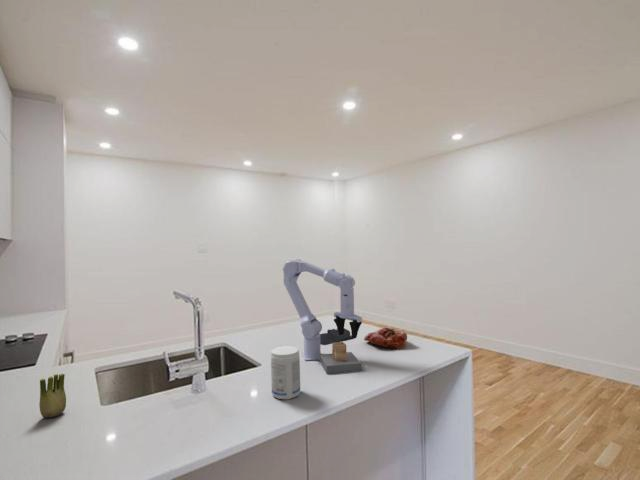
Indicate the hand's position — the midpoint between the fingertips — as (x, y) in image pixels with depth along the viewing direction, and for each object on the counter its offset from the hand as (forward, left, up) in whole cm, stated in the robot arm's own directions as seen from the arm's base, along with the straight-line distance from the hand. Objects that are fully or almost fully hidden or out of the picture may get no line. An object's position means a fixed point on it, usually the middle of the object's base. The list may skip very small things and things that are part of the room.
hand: (347, 336), depth 145 cm
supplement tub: (+26, -29, -11) cm, 40 cm away
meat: (-19, +24, -11) cm, 33 cm away
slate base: (+5, -5, -10) cm, 13 cm away
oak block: (+5, -5, -7) cm, 10 cm away
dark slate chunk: (-35, +1, -11) cm, 37 cm away
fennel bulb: (+25, -98, -11) cm, 102 cm away
